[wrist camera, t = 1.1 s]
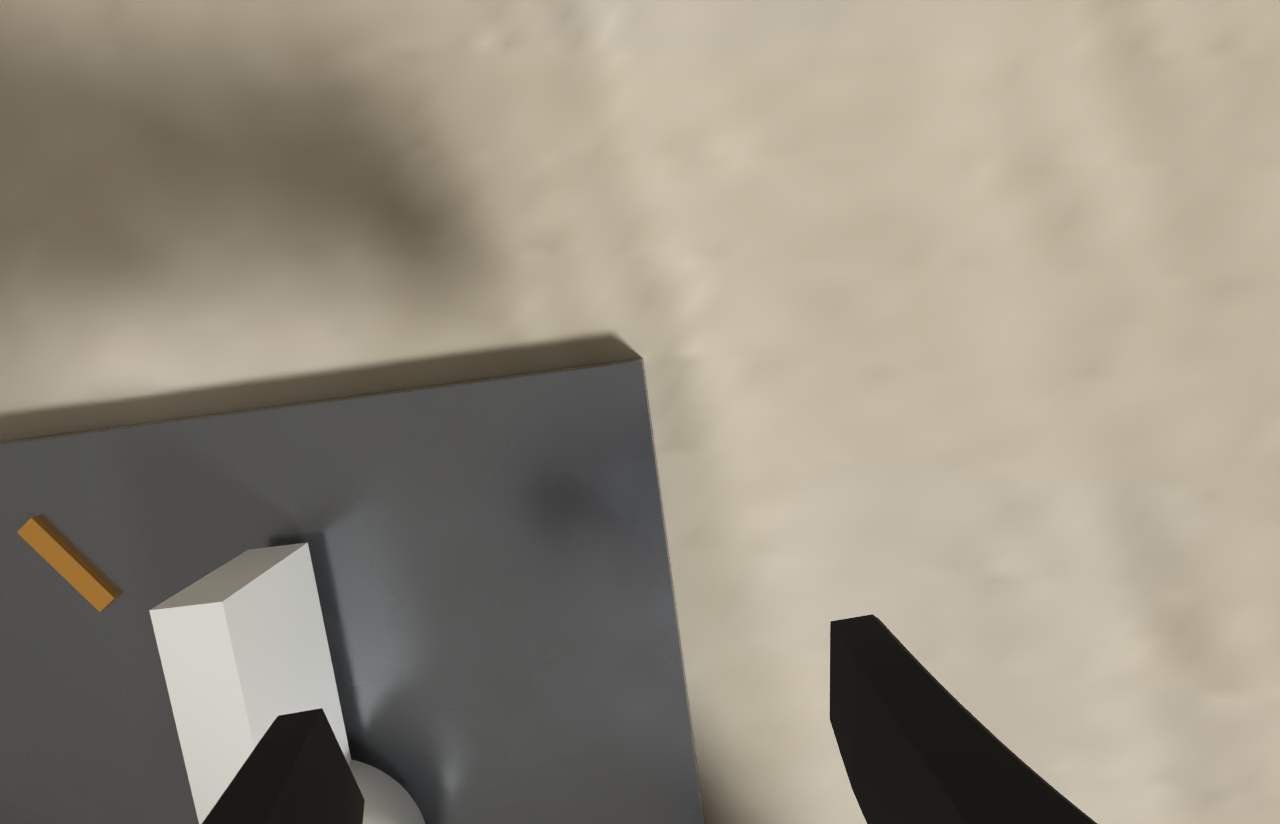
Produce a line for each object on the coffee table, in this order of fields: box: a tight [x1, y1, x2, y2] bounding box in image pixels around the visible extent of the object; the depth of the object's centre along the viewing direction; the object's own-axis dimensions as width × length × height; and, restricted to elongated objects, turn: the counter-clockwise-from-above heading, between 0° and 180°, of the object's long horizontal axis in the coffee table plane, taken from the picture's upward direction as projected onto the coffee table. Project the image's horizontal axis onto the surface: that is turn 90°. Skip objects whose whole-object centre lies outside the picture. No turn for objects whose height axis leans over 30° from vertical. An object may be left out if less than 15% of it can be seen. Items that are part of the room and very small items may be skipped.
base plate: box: [0, 358, 705, 824], centre depth 21 cm, size 20×20×4 cm
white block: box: [149, 543, 425, 824], centre depth 19 cm, size 11×5×4 cm, turn 8°
